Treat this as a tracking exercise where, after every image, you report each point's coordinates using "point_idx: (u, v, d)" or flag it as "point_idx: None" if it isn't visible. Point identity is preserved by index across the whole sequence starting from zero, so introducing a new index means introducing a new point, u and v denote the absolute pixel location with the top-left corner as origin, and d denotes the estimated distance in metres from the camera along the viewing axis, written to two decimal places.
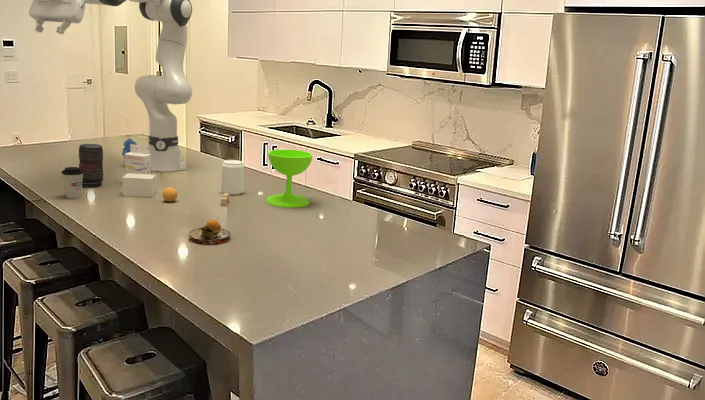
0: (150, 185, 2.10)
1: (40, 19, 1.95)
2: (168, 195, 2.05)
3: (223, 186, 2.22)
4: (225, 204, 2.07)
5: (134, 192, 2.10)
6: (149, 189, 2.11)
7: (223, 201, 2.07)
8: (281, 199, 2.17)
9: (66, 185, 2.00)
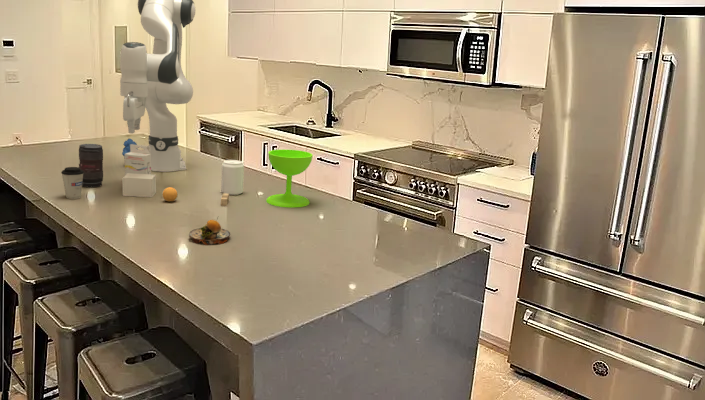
0: (150, 185, 2.10)
1: None
2: (168, 195, 2.05)
3: (223, 186, 2.22)
4: (225, 204, 2.07)
5: (134, 192, 2.10)
6: (149, 189, 2.11)
7: (223, 201, 2.07)
8: (281, 199, 2.17)
9: (66, 185, 2.00)
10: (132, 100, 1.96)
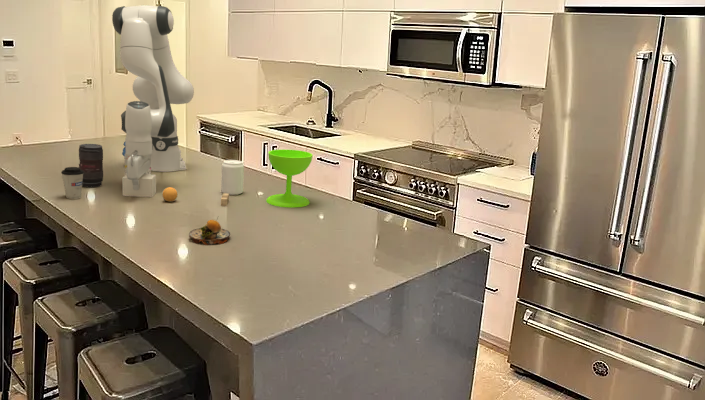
0: (150, 185, 2.10)
1: None
2: (168, 195, 2.05)
3: (223, 186, 2.22)
4: (225, 204, 2.07)
5: (134, 192, 2.10)
6: (149, 189, 2.11)
7: (223, 201, 2.07)
8: (281, 199, 2.17)
9: (66, 185, 2.00)
10: (136, 160, 2.02)
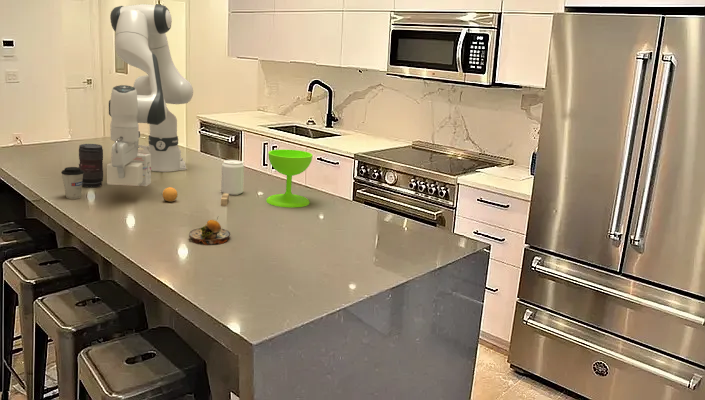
0: (136, 173, 2.00)
1: None
2: (168, 195, 2.05)
3: (223, 186, 2.22)
4: (225, 204, 2.07)
5: (119, 180, 2.00)
6: (135, 177, 2.01)
7: (223, 201, 2.07)
8: (281, 199, 2.17)
9: (66, 185, 2.00)
10: (121, 146, 1.92)
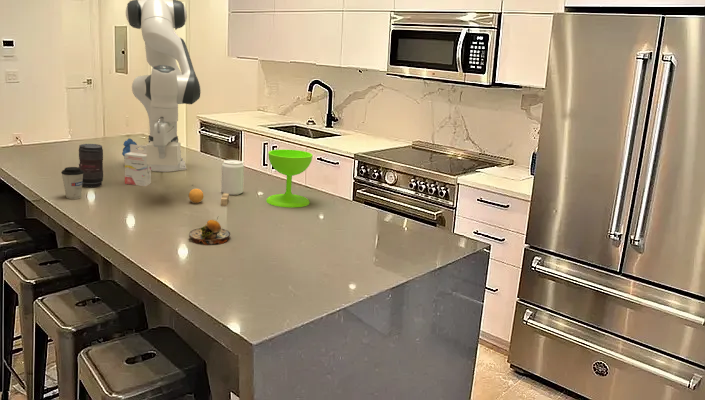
0: (175, 153, 2.01)
1: None
2: (194, 198, 2.06)
3: (223, 186, 2.22)
4: (225, 204, 2.07)
5: (159, 160, 2.01)
6: (174, 157, 2.01)
7: (223, 201, 2.07)
8: (281, 199, 2.17)
9: (66, 185, 2.00)
10: (162, 126, 1.93)
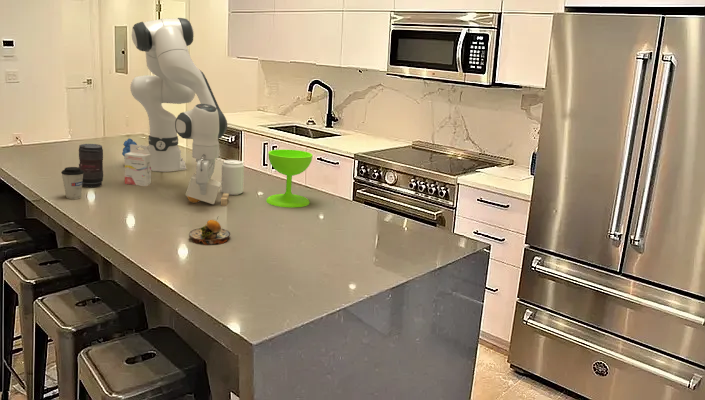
0: (216, 192, 2.05)
1: None
2: (193, 198, 2.06)
3: (223, 186, 2.22)
4: (225, 204, 2.07)
5: (198, 195, 2.05)
6: (213, 196, 2.06)
7: (223, 201, 2.07)
8: (281, 199, 2.17)
9: (66, 185, 2.00)
10: (205, 164, 1.97)
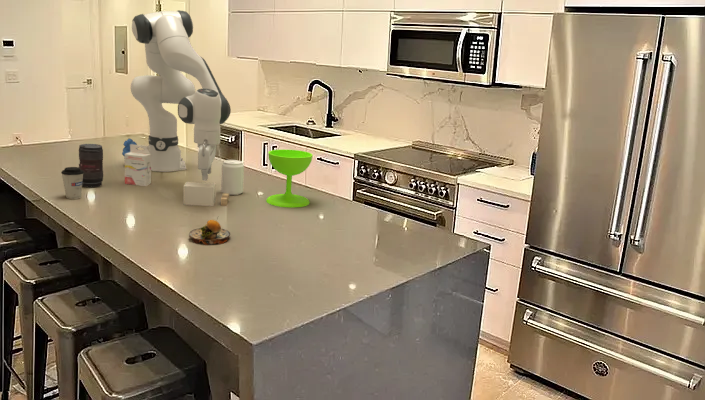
0: (211, 194, 2.05)
1: None
2: None
3: (223, 186, 2.22)
4: (225, 204, 2.07)
5: (195, 201, 2.05)
6: (210, 198, 2.06)
7: (223, 201, 2.07)
8: (281, 199, 2.17)
9: (66, 185, 2.00)
10: (207, 149, 1.96)
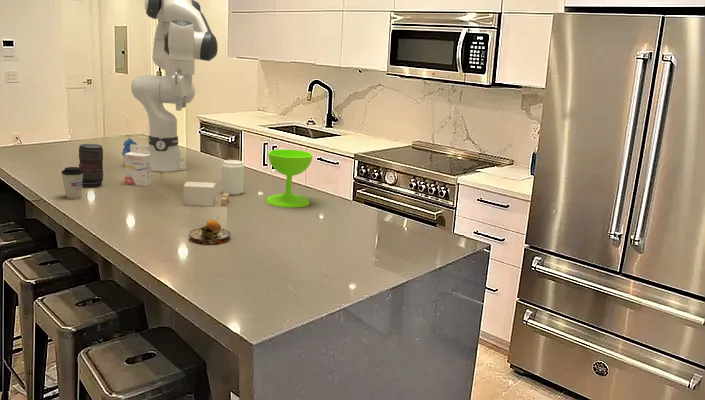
0: (211, 194, 2.05)
1: None
2: None
3: (223, 186, 2.22)
4: (225, 204, 2.07)
5: (195, 201, 2.05)
6: (210, 198, 2.06)
7: (223, 201, 2.07)
8: (281, 199, 2.17)
9: (66, 185, 2.00)
10: (180, 77, 1.99)
